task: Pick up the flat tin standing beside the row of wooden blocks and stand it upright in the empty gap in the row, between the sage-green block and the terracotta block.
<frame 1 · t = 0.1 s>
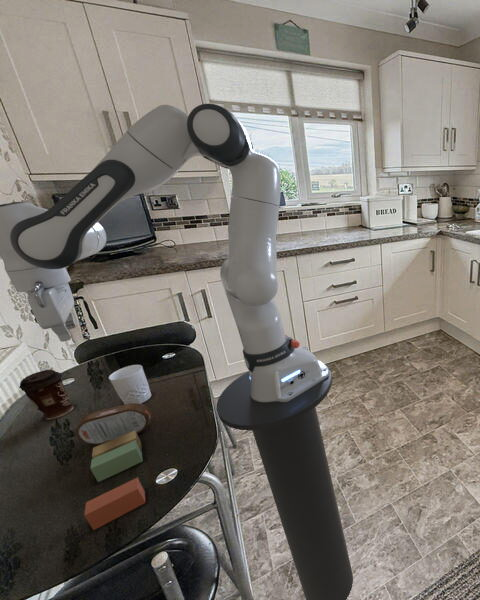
hand: (69, 333, 78), 28 cm above the table, tool pointing down, fingers open, 8 cm apart
beech block: (121, 455, 78), on the table
coffee cup: (59, 413, 97), on the table
white cup: (138, 400, 99), on the table
terracotta block: (120, 509, 64), on the table
tin: (121, 437, 84), on the table
sage block: (121, 467, 75), on the table
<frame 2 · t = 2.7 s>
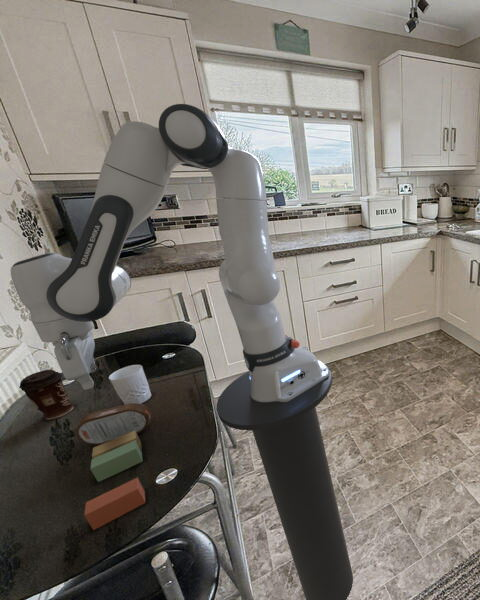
hand: (91, 379, 78), 18 cm above the table, tool pointing down, fingers open, 8 cm apart
nothing on the table moved.
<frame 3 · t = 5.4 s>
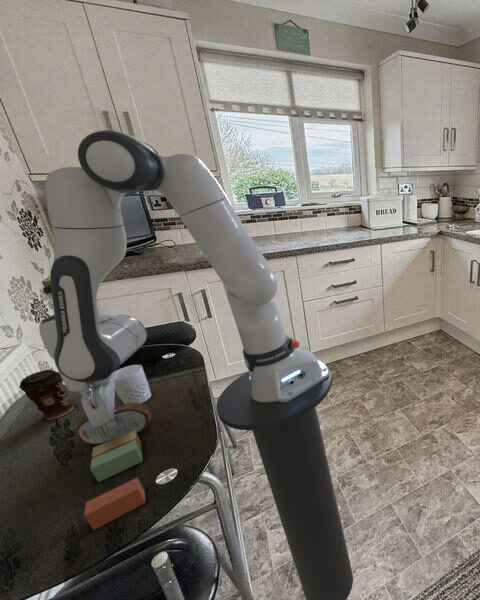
hand: (113, 420, 82), 5 cm above the table, tool pointing down, fingers closed on tin, 3 cm apart
tin: (121, 437, 84), on the table, touching gripper
everything else where it was.
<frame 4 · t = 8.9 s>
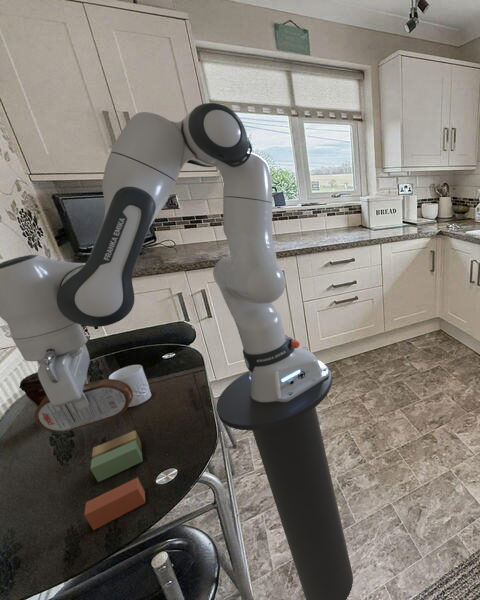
hand: (85, 401, 67), 19 cm above the table, tool pointing down, fingers closed on tin, 3 cm apart
tin: (94, 422, 69), point 14 cm above the table, touching gripper
everything else where it was.
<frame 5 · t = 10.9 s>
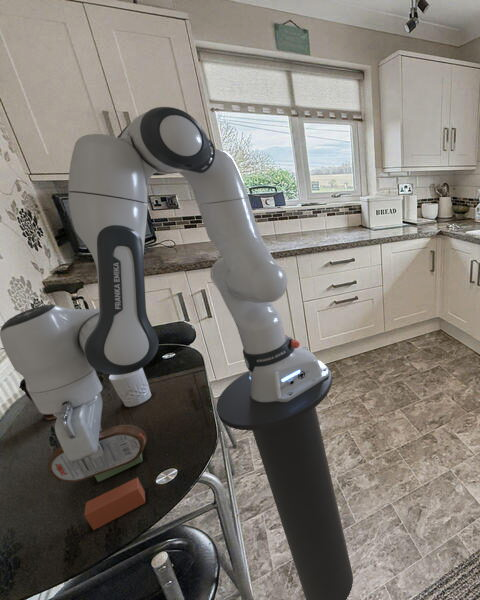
hand: (99, 448, 66), 11 cm above the table, tool pointing down, fingers closed on tin, 3 cm apart
tin: (108, 469, 67), point 5 cm above the table, touching gripper
everything else where it was.
when the fingers open (5 cm above the table, at t = 12.7 s): tin stays where it is, on the table.
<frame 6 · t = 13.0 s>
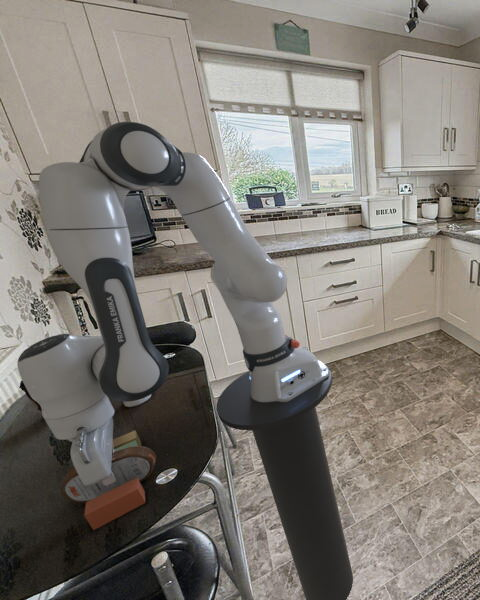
hand: (111, 469, 68), 5 cm above the table, tool pointing down, fingers open, 6 cm apart
tin: (119, 489, 69), on the table
everything else where it was.
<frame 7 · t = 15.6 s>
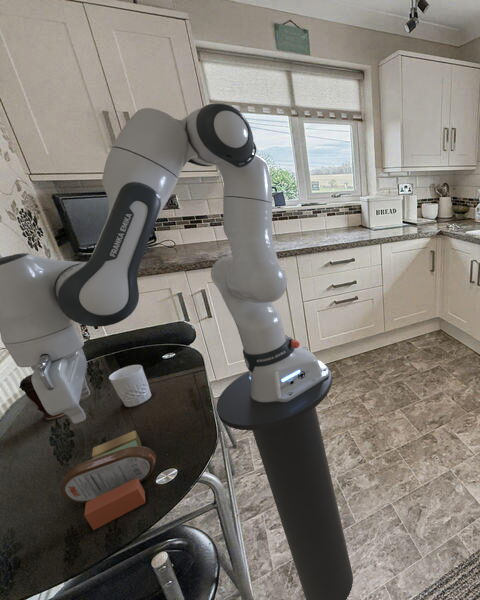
hand: (83, 407, 63), 20 cm above the table, tool pointing down, fingers open, 8 cm apart
nothing on the table moved.
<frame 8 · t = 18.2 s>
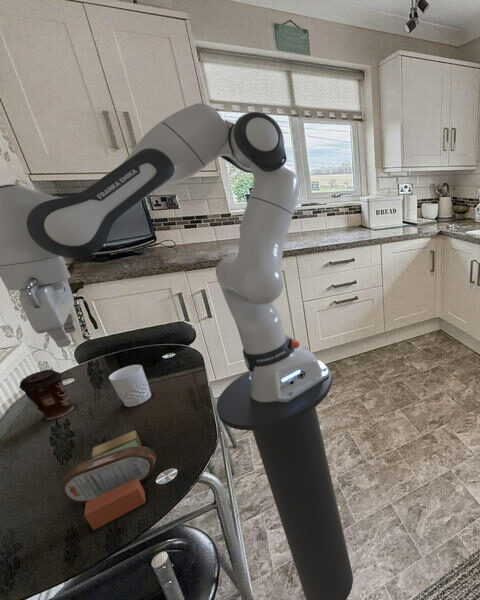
hand: (68, 338, 68), 31 cm above the table, tool pointing down, fingers open, 8 cm apart
nothing on the table moved.
at the end: tin 0.4 cm from the target spot, on the table; tin tilted 0°; terracotta block moved 0.0 cm from its start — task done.
